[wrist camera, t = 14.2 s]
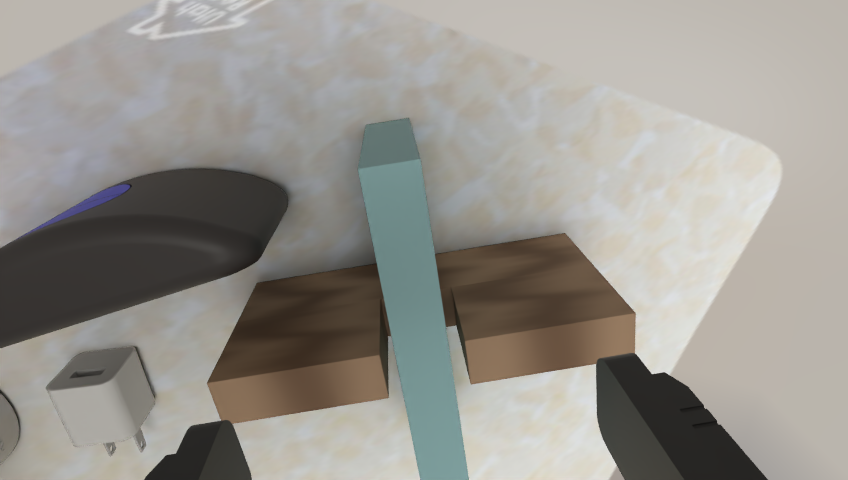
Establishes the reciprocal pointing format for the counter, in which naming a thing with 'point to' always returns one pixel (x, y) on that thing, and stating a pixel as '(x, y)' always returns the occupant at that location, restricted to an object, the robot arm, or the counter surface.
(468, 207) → the counter surface
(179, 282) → the black rounded block
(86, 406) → the usb wall charger
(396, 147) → the teal plate
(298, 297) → the brown flat u-shaped block
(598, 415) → the robot arm
